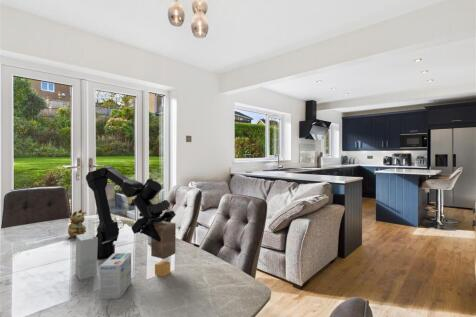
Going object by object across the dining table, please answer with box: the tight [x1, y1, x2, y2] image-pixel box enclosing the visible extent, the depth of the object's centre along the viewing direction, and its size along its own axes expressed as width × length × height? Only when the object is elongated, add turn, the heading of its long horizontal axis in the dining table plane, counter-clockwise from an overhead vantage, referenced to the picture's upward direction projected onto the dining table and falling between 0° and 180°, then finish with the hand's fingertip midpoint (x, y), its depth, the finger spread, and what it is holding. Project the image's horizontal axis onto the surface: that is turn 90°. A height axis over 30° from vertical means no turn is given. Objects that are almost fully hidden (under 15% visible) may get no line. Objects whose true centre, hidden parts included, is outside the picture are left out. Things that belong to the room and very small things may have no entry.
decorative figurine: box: [67, 209, 87, 238], centre depth 147 cm, size 10×8×15 cm
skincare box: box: [74, 232, 98, 281], centre depth 98 cm, size 8×6×15 cm
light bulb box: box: [99, 252, 132, 300], centre depth 86 cm, size 11×7×11 cm, turn 5°
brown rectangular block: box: [150, 221, 177, 260], centre depth 100 cm, size 6×6×12 cm
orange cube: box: [154, 259, 171, 277], centre depth 99 cm, size 4×4×4 cm
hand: (166, 238), depth 99 cm, fingers closed on brown rectangular block, 6 cm apart
